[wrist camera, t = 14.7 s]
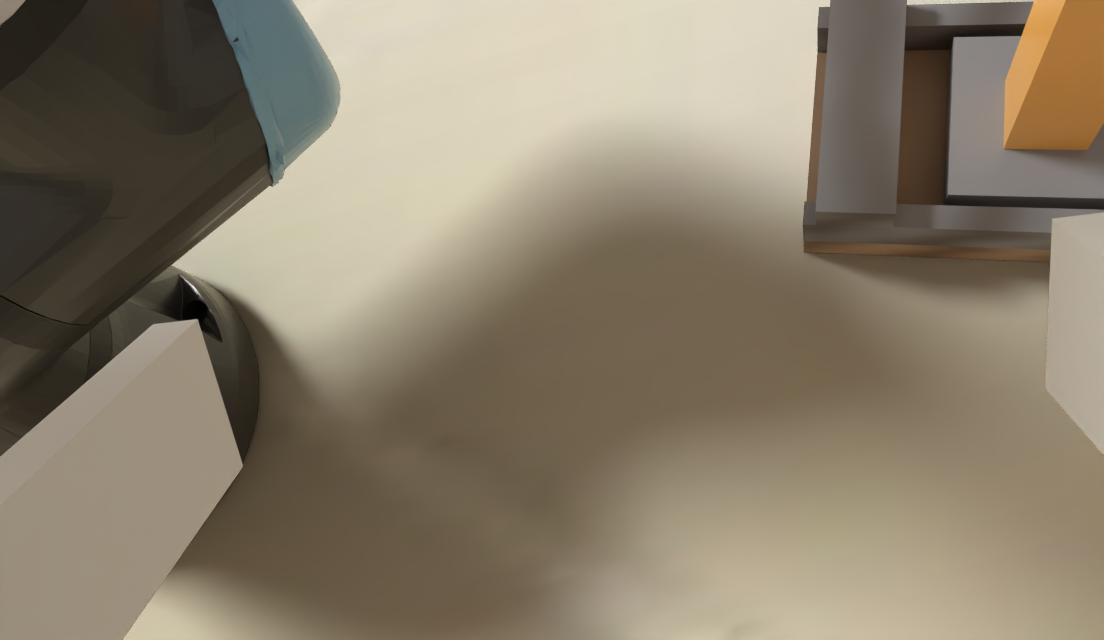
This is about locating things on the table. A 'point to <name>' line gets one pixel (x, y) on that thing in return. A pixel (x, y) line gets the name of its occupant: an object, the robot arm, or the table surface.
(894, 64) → the track
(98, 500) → the robot arm
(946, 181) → the handle
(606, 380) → the table surface
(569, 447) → the table surface
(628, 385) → the table surface
